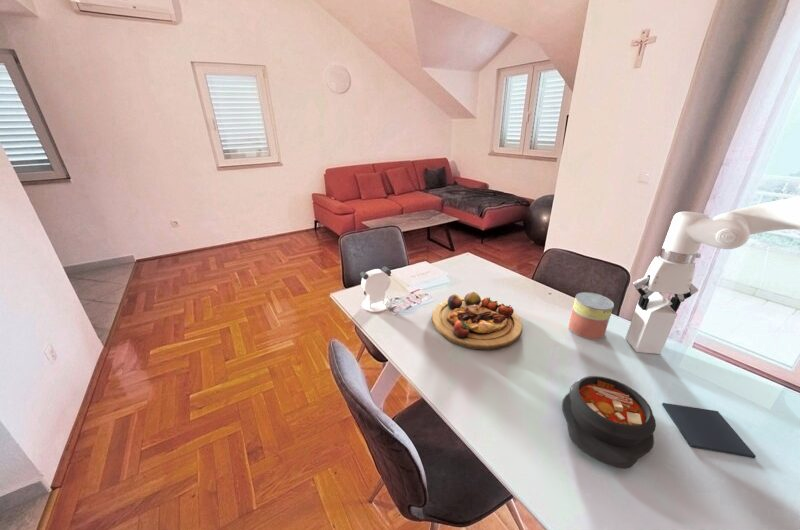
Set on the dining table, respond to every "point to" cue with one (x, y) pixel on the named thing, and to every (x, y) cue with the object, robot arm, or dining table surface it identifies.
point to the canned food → (590, 315)
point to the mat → (707, 430)
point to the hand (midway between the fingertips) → (656, 308)
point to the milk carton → (651, 325)
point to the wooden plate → (477, 322)
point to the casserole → (609, 421)
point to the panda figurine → (375, 289)
